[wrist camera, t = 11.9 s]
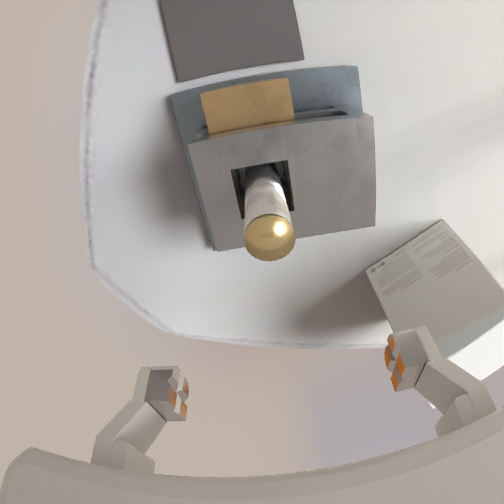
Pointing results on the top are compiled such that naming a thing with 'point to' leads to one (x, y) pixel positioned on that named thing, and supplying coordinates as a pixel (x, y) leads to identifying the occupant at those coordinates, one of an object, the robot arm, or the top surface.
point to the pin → (266, 214)
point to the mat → (230, 34)
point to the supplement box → (444, 298)
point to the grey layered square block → (281, 149)
